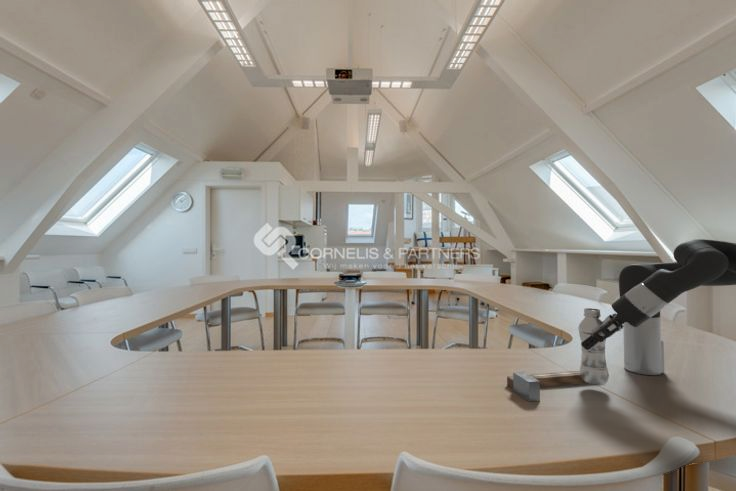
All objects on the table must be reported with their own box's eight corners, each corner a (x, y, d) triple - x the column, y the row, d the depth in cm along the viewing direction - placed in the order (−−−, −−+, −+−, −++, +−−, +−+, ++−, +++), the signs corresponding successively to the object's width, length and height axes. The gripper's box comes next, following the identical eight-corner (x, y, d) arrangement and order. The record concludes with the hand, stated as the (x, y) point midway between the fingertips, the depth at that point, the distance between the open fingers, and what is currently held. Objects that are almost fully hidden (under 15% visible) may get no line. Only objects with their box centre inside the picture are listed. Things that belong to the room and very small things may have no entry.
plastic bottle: (613, 388, 92) (611, 311, 92) (585, 386, 93) (583, 311, 94) (602, 379, 98) (600, 307, 99) (576, 378, 100) (574, 307, 100)
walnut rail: (594, 377, 104) (594, 369, 105) (603, 381, 102) (602, 372, 102) (507, 385, 100) (507, 376, 100) (513, 389, 97) (512, 379, 97)
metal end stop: (523, 390, 97) (523, 371, 97) (540, 400, 90) (539, 381, 90) (513, 390, 96) (513, 372, 96) (529, 401, 89) (528, 382, 89)
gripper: (652, 321, 83) (593, 362, 90) (652, 311, 94) (600, 349, 101) (623, 296, 86) (569, 338, 93) (627, 290, 97) (578, 328, 104)
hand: (585, 344), depth 97 cm, fingers closed on plastic bottle, 6 cm apart
